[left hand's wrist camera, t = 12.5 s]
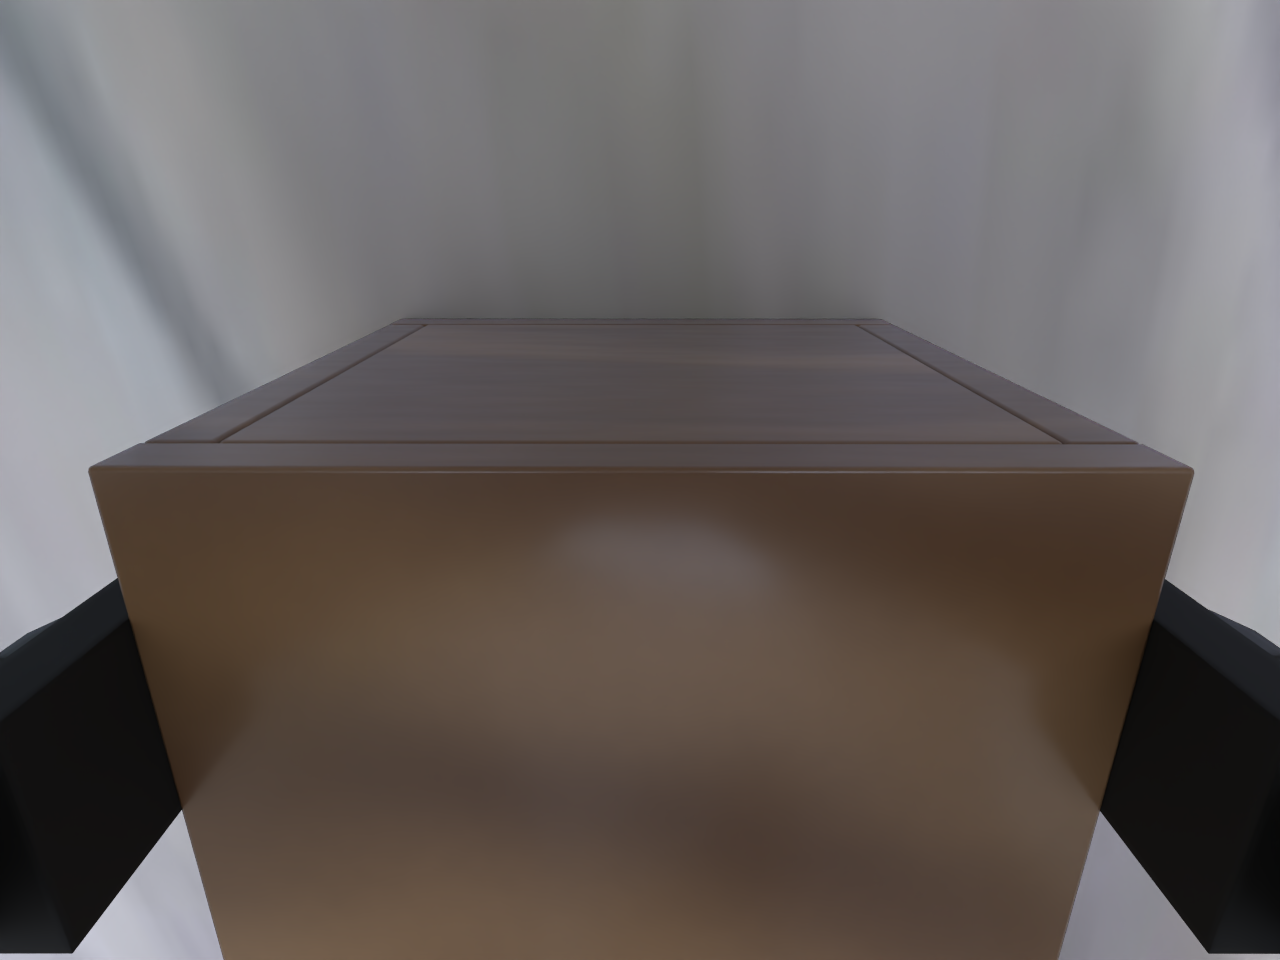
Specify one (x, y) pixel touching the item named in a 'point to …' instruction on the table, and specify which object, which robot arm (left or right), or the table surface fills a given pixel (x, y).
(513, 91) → the table surface
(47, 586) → the table surface
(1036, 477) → the cabinet
